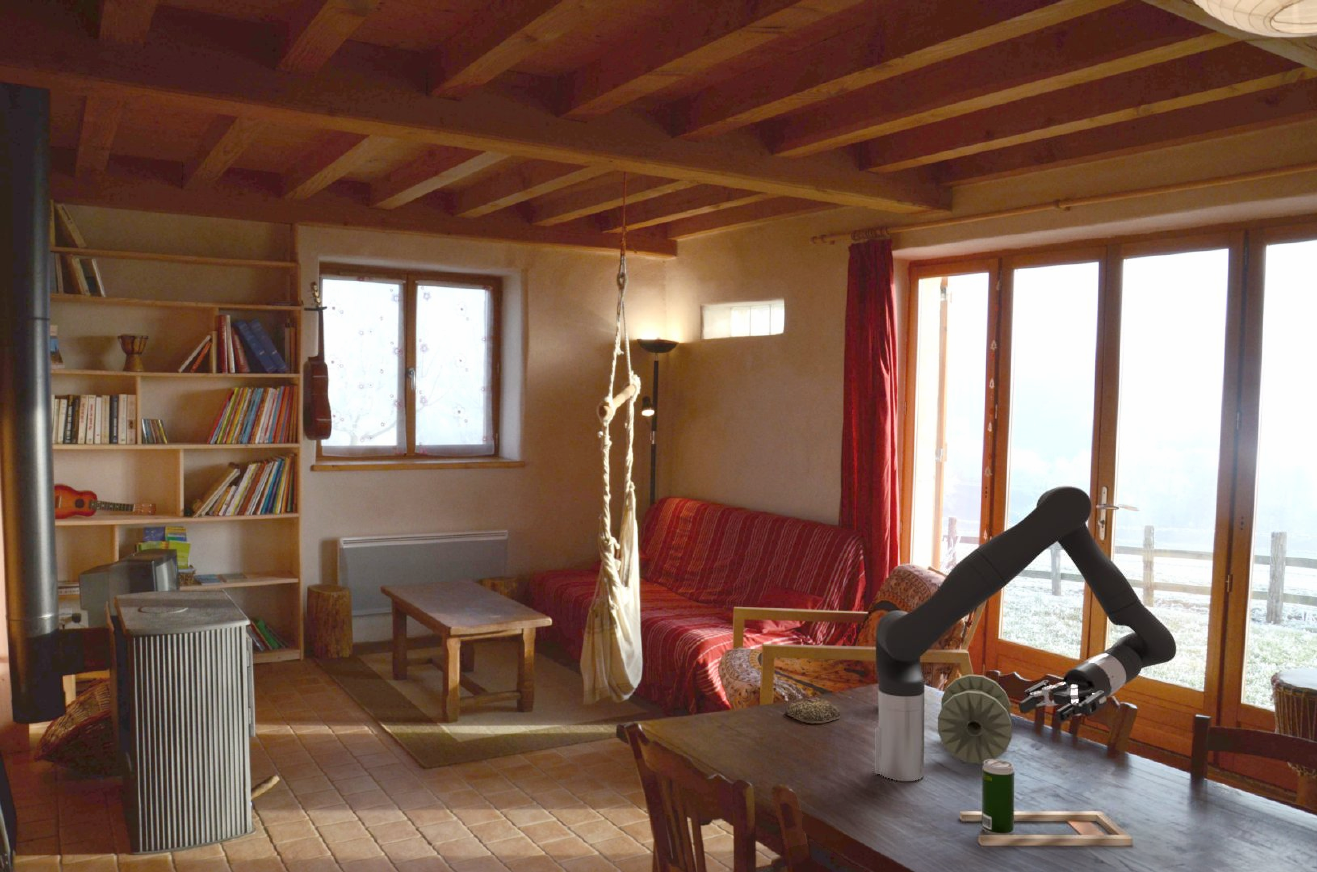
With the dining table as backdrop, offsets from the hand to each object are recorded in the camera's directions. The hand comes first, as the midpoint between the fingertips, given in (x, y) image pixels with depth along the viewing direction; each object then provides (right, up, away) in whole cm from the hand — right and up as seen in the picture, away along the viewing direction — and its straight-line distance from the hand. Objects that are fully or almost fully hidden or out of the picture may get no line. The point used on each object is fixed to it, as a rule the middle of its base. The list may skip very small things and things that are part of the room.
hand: (1039, 713), depth 183 cm
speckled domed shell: (-32, -19, +62) cm, 72 cm away
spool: (0, -19, +36) cm, 41 cm away
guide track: (-2, -19, -7) cm, 20 cm away
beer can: (-10, -19, -7) cm, 23 cm away
